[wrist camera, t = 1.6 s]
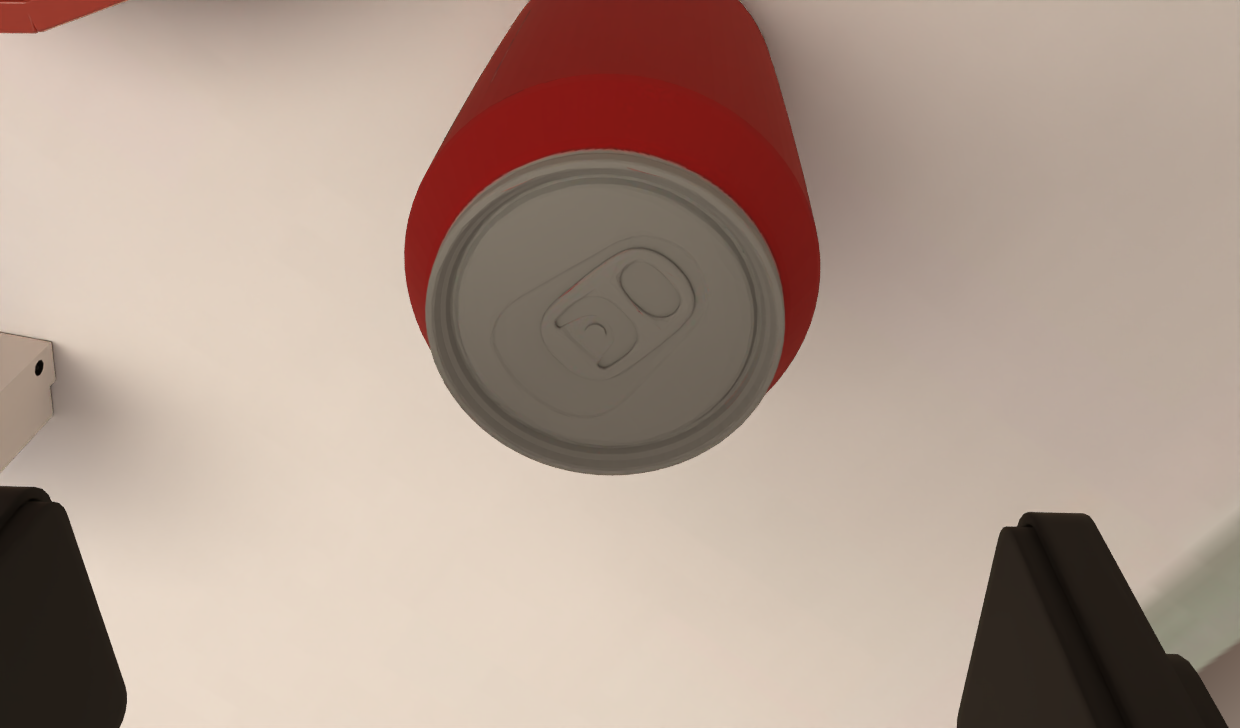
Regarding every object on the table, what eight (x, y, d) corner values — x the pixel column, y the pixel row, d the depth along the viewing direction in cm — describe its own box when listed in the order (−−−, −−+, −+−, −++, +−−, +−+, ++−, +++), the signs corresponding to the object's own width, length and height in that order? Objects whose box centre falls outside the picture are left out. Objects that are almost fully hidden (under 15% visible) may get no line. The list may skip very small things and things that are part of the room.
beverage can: (442, 81, 26) (283, 312, 16) (646, -121, 23) (615, -3, 13) (627, 267, 28) (594, 574, 18) (830, 103, 26) (928, 352, 15)
